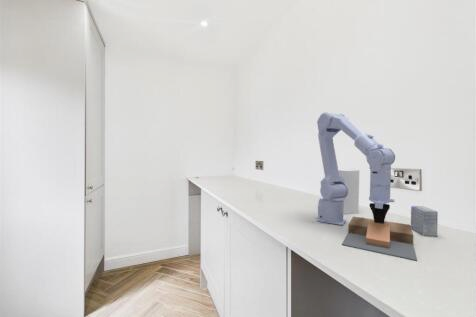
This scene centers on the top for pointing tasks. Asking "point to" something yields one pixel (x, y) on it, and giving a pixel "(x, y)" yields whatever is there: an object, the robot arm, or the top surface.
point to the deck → (396, 229)
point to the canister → (351, 190)
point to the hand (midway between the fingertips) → (379, 226)
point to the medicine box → (424, 220)
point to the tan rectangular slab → (378, 234)
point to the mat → (395, 247)
